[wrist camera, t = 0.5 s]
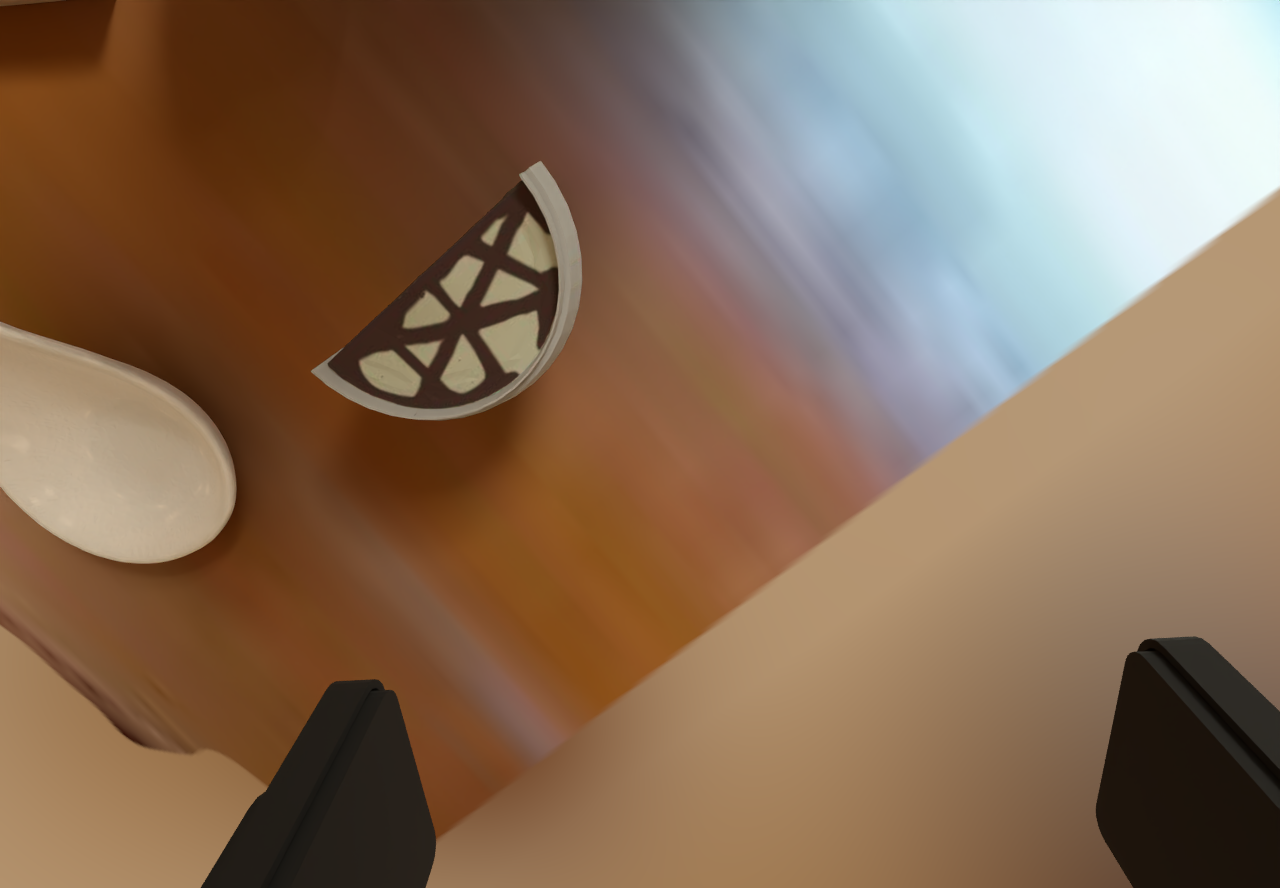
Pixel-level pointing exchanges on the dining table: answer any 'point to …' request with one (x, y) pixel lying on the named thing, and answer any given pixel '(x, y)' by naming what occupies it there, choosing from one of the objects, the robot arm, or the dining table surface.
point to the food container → (473, 315)
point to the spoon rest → (108, 453)
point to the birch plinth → (23, 2)
